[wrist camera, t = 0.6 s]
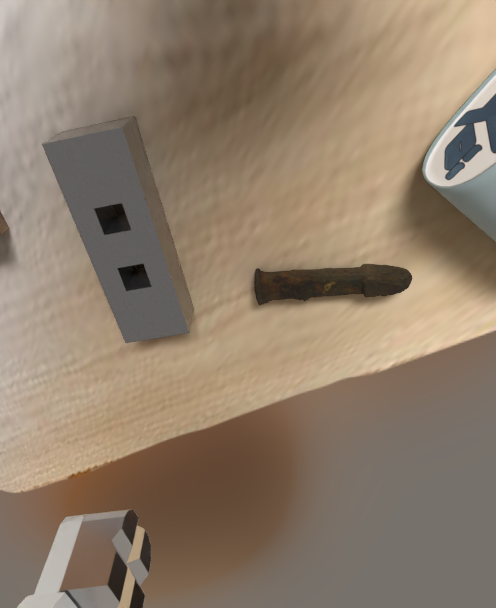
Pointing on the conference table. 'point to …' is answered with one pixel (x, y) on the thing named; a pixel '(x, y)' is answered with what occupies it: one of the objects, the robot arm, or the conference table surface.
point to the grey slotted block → (123, 226)
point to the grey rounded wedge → (468, 158)
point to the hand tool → (331, 282)
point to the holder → (3, 225)
